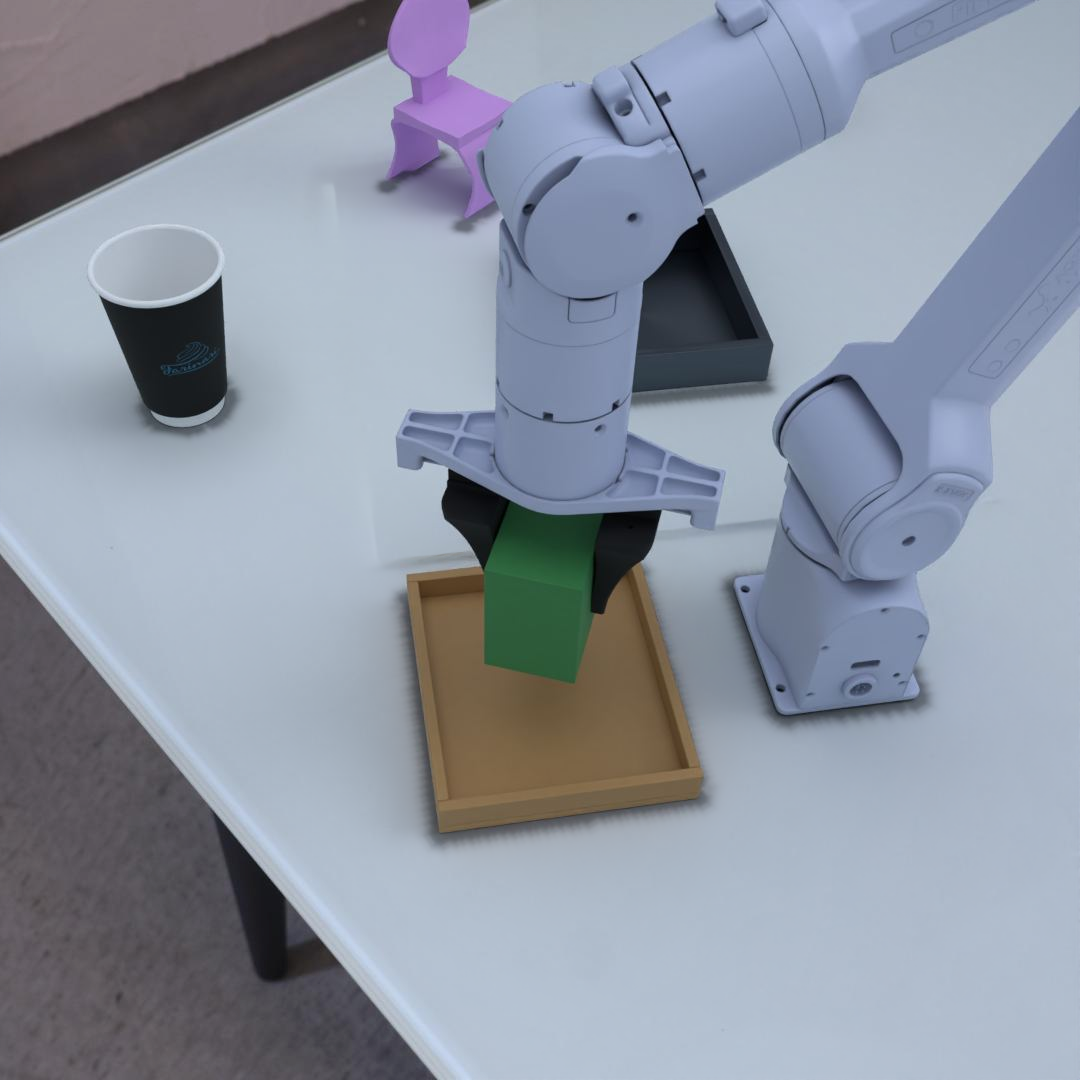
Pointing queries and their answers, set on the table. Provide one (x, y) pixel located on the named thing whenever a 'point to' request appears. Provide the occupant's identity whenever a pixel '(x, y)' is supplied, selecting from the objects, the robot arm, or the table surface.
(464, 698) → the tray
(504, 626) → the green rectangular block
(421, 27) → the toy chair
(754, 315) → the dark grey tray
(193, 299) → the dixie cup
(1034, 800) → the table surface
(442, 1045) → the table surface
